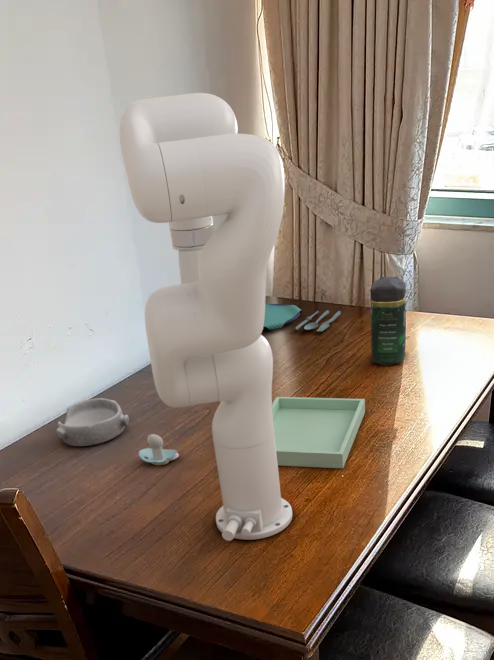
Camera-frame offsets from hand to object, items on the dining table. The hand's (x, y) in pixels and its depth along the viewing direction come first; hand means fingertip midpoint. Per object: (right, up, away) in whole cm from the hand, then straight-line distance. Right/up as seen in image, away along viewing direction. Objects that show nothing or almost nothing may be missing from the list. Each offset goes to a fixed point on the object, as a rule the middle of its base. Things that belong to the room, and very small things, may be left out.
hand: (207, 332), depth 142 cm
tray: (+19, -18, +9) cm, 28 cm away
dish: (-25, -17, +19) cm, 35 cm away
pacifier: (-9, -23, +6) cm, 26 cm away
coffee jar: (+39, +3, +39) cm, 55 cm away
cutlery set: (+13, +18, +68) cm, 72 cm away
